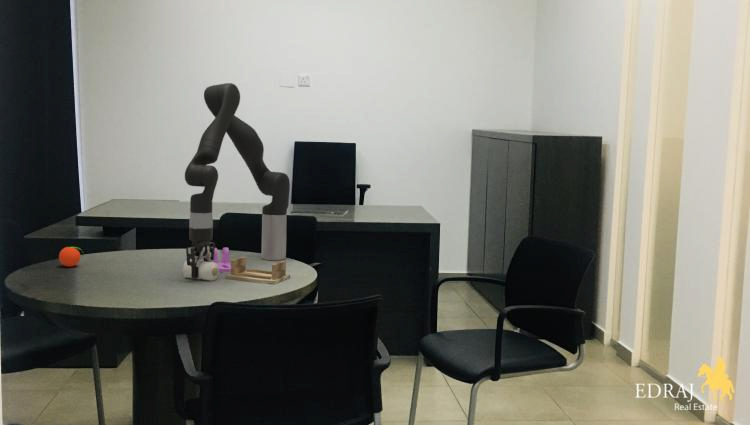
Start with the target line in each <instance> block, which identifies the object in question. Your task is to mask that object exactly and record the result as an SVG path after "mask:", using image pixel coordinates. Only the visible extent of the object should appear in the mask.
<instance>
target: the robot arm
mask: <svg viewBox="0 0 750 425" xmlns="http://www.w3.org/2000/svg"><path fill="white" fill-rule="evenodd" d="M203 98H204V103H205V106H207V108H208V110H209V112H210V113H211V114H212V115H213V117H214V119H213V120H212V121H211V123H210V124H209V125H208V126H207V127H206V129H205V130H204V132H203V133H202V135H201V137H200V140H199V143H198V147H197V151H196V153H195V154H194V156H193V157H192V159H191V160H190V162H189V163H188V165H187V166H186V169H185V171H184V181H185V183H186V184H187V185H188V186H190V187H202V188H203V191H202V192H200V193H194V194H192V195H191V196H190V200H189V201H190V207H189V208H190V209H189V210H190V211H189V220H188V221H189V223H188V224H189V225H188V226H189V228H188V229H189V232H188V233H189V234H188V235H189V236H188V237H189V238H188V239H189V240H190V241H191V242H192V244H191V247H186V249H185V253H186V254H185V255H186V260H187V265H189V266H191V275H192V278H191V279H193V278H198V277H199V267H198V265H199V262H200V261H205V262H211V261H212V260H214V251H215V248H216V243H215V242H211V241H213V239H214V238H213V236H214V234H213V232H214V229H213V228H214V219H213V198H214V194H215V190H216V187H217V184H218V180H219V172H218V169H217V168H216V167H215V166H214V165H211V164H214V163H216V162H217V160H218V158H219V155H220V152H221V148H222V145H223V141H224V139H225V136H226V134H227V136H228V137H229V140H231V141H232V143H233V146H234V147H235V149H236V151H237V152H238V154H239V155H240V156H241V158H242V160H243V161H244V163H245V164H246V166H247V168H248V170H249V171H250V174H251V176H252V178H253V180H254V182H255V184H256V187H257V188H258V190H259V191H260V193H262V194H263V195H265V196H269V197H271V202H270V203H269V204H266V205H264V206H262V208H261V216H262V217H261V252H260V253H261V255H260V256H261V259H262V260H267V261H284V260H286V257H287V214H288V213H287V210H288V208H289V202H290V193H291V192H290V191H291V184H290V183H291V182H290V178H289V176H288V174H287V173H285V172H280V171H271V170H270V169H269V168H268V167H267V165H266V163H265V161H264V150H265V149H264V148H265V147H264V144H263V142H262V140H261V138H260V136H259V134H258V133H257V131H256V130H255V129H254V128H253V127H252V126H251V125H249V124H248V123H247V122H245V121H244V120H242V119H240V118H239V117H237V116H236V115H235V114H236V112H237V110H238V108H239V105H240V102H241V93H240V90H239V88H238V86H237V85H236V84H235V83H230V82H226V83H220V84H214V85H210V86H207V87H206V88H205V89H204V91H203ZM190 260H191V262H190ZM195 261H196V263H195Z"/></svg>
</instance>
